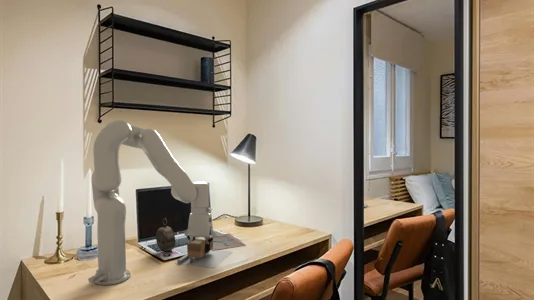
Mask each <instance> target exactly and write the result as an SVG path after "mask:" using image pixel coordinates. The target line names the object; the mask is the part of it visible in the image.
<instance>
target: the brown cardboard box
mask: <svg viewBox="0 0 534 300" xmlns="http://www.w3.org/2000/svg"><path fill="white" fill-rule="evenodd" d="M210 238H211V237H210ZM205 244H206V241H205V238H204V237H196V238H195V239H194V240H193V241H191V242H189V241H188V243H187V246H186V247H187V248H186V249H187V251H186V252H187V253H186V254H187V257H190V255H193V257H195V258H201V257H202V256H204V255H205V254H206V253H205ZM212 249H213V240H212V241H211V242H210V251H211V250H212Z"/></svg>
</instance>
